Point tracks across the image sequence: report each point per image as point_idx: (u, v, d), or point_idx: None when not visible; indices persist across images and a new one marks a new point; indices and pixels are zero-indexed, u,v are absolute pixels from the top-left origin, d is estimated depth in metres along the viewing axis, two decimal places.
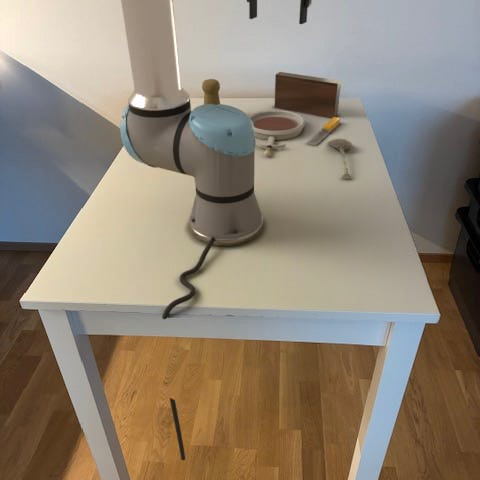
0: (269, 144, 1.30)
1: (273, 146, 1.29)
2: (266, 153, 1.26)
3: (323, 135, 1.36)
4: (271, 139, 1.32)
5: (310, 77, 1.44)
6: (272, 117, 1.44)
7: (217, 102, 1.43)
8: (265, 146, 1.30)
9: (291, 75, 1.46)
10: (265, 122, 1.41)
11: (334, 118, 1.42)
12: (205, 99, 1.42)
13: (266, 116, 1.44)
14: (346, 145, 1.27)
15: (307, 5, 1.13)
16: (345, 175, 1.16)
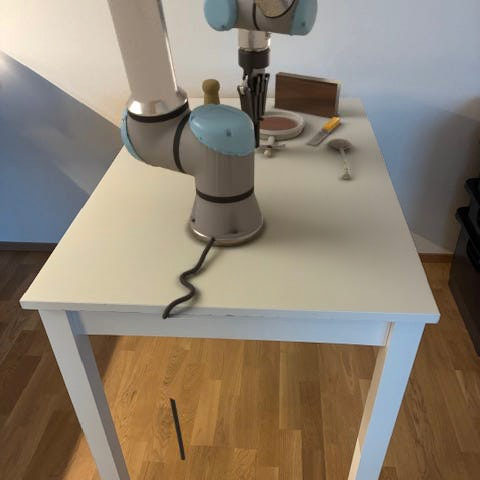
0: (269, 144, 1.30)
1: (273, 146, 1.29)
2: (266, 153, 1.26)
3: (323, 135, 1.36)
4: (271, 139, 1.32)
5: (310, 77, 1.44)
6: (272, 117, 1.44)
7: (217, 102, 1.43)
8: (265, 146, 1.30)
9: (291, 75, 1.46)
10: (265, 122, 1.41)
11: (334, 118, 1.42)
12: (205, 99, 1.42)
13: (266, 116, 1.44)
14: (346, 145, 1.27)
15: None
16: (345, 175, 1.16)
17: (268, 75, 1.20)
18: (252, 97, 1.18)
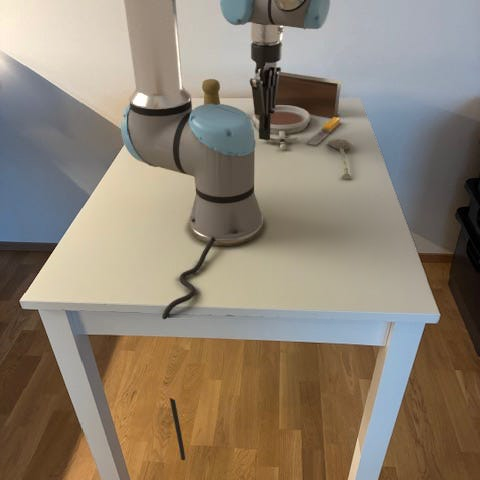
0: (282, 138, 1.33)
1: (286, 140, 1.32)
2: (282, 147, 1.29)
3: (323, 135, 1.36)
4: (282, 133, 1.35)
5: (310, 77, 1.44)
6: (276, 112, 1.47)
7: (217, 102, 1.43)
8: (278, 140, 1.32)
9: (291, 75, 1.46)
10: (271, 117, 1.44)
11: (334, 118, 1.42)
12: (205, 99, 1.42)
13: None
14: (346, 145, 1.27)
15: None
16: (345, 175, 1.16)
17: (279, 69, 1.24)
18: (264, 90, 1.22)
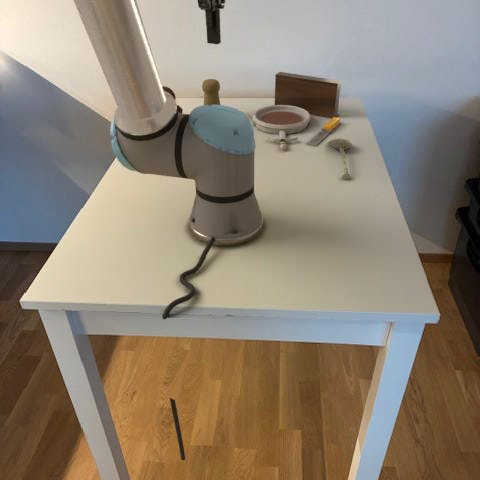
0: (282, 138, 1.33)
1: (286, 139, 1.32)
2: (282, 146, 1.29)
3: (323, 135, 1.36)
4: (282, 133, 1.35)
5: (310, 77, 1.44)
6: (276, 112, 1.47)
7: (217, 102, 1.43)
8: (278, 140, 1.32)
9: (291, 75, 1.46)
10: (271, 117, 1.44)
11: (334, 118, 1.42)
12: (205, 99, 1.42)
13: (270, 111, 1.47)
14: (346, 145, 1.27)
15: None
16: (345, 175, 1.16)
17: None
18: None
